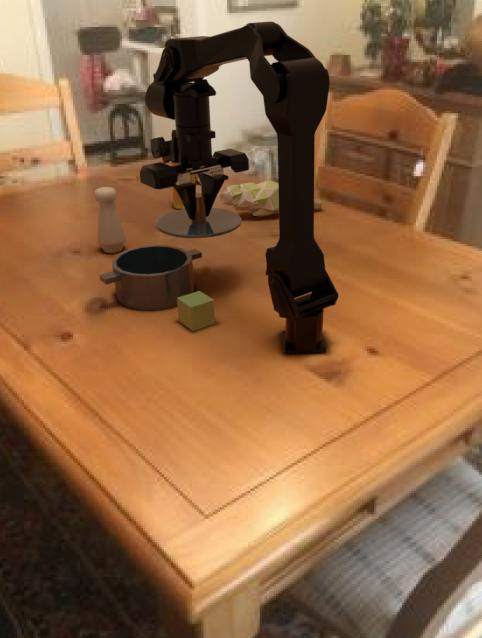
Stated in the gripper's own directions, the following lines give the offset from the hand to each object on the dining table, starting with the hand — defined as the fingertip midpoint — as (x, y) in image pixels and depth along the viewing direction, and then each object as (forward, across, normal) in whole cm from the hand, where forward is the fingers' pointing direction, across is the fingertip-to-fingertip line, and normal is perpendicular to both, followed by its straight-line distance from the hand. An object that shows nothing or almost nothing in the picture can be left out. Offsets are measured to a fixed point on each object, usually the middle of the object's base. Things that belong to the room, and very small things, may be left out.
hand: (199, 217), depth 109 cm
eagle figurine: (+13, -36, -57) cm, 68 cm away
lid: (+1, 0, 0) cm, 1 cm away
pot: (+13, +9, -2) cm, 16 cm away
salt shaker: (+13, +5, -27) cm, 30 cm away
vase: (+13, -22, -42) cm, 49 cm away
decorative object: (+13, -35, -23) cm, 44 cm away
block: (+13, +9, +12) cm, 20 cm away
